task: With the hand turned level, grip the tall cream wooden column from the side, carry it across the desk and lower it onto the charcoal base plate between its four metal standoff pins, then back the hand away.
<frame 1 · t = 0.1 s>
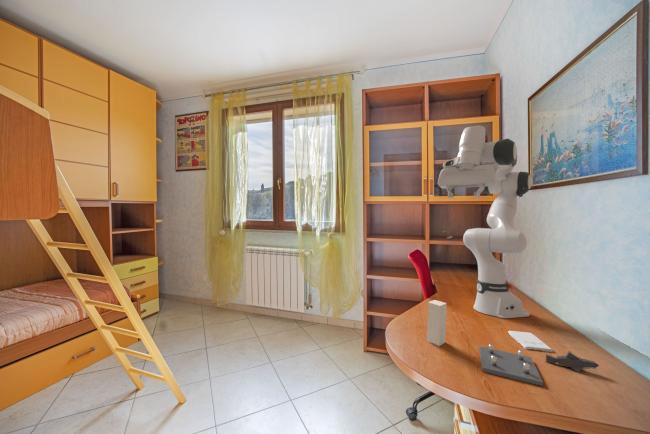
hand: (462, 197, 100), 52 cm above the table, tool tilted 20°, fingers open, 8 cm apart
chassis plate: (507, 365, 81), on the table
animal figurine: (570, 368, 80), on the table
external hard drive: (528, 343, 96), on the table
cream column: (436, 341, 95), on the table
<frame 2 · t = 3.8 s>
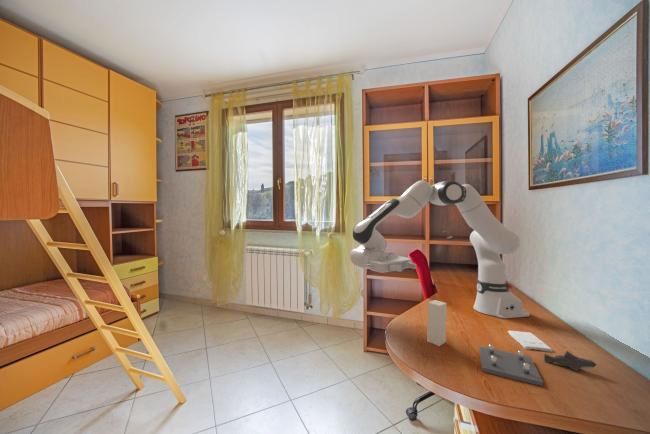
hand: (408, 267, 104), 24 cm above the table, tool horizontal, fingers open, 8 cm apart
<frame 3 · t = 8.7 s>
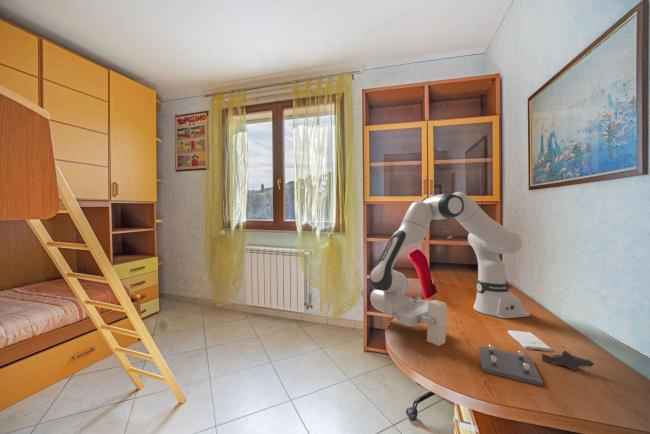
hand: (439, 320, 94), 8 cm above the table, tool horizontal, fingers closed on cream column, 4 cm apart
cream column: (436, 341, 95), on the table, touching gripper
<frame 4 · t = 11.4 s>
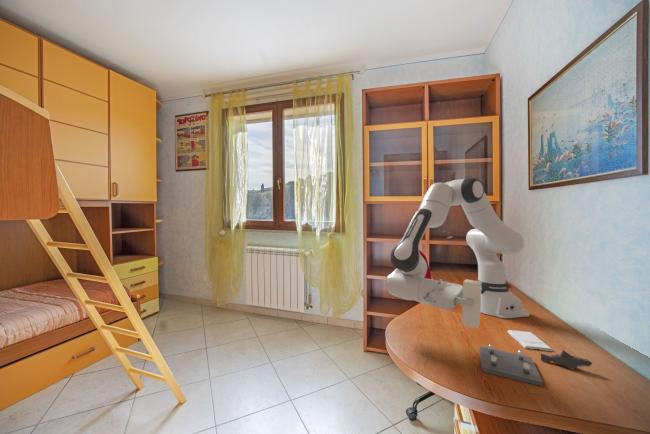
hand: (474, 300, 86), 18 cm above the table, tool horizontal, fingers closed on cream column, 4 cm apart
cream column: (470, 324, 86), point 10 cm above the table, touching gripper
when the fingers open (11 cm above the table, at t = 14.4 s): cream column drops 2 cm, resting on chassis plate.
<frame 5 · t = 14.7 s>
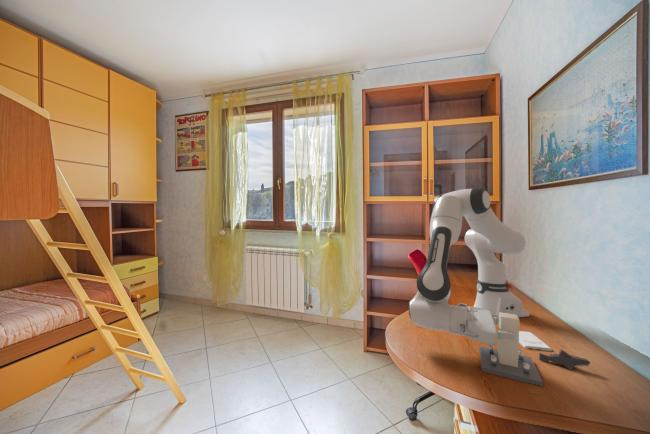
hand: (512, 330, 80), 11 cm above the table, tool horizontal, fingers open, 8 cm apart
cream column: (507, 361, 81), point 1 cm above the table, touching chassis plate
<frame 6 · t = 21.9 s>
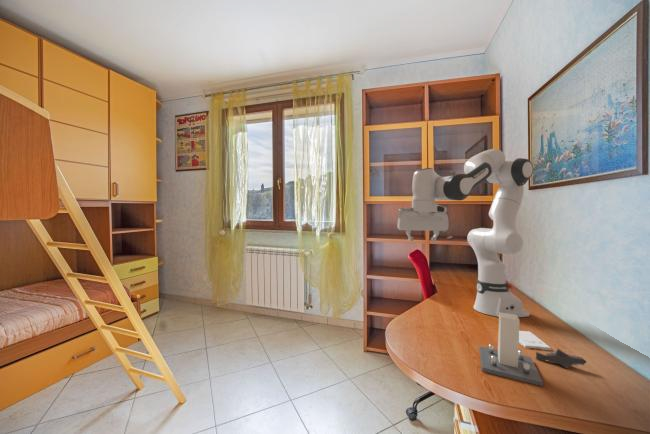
hand: (422, 241, 109), 34 cm above the table, tool pointing down, fingers open, 8 cm apart
at the end: cream column 0.1 cm off-centre on the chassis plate, point 1.2 cm above the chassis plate's base; cream column tilted 0°; the gripper is holding nothing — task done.
